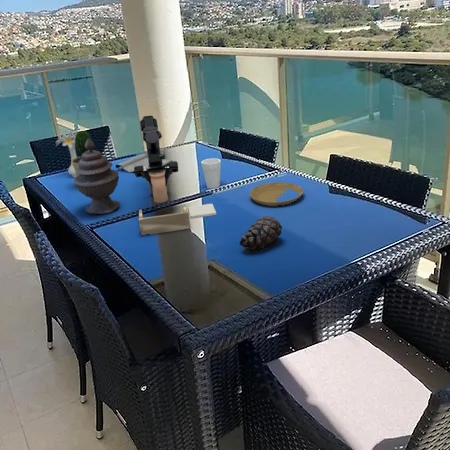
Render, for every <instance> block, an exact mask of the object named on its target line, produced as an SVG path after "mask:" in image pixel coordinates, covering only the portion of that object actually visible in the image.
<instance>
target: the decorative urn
mask: <svg viewBox="0 0 450 450" xmlns="http://www.w3.org/2000/svg"><path fill="white" fill-rule="evenodd" d="M85 148H86V149H88V151H86V152H85V153H83V154H82V156H81V158H82V159H81V160H80V161H79V163H78V164H79V167H77V168H76V169H75V172H76V173H79V175H78V176H77V177H74V179H73V183H74V187H76V189H77V190H78V192H79V193H81V194H82V195H83V196H85V197H87V198H90V199H91V203H90V204H89V205H87V206H86V208H85V211H86V213H89V214H91V215H96V214H97V215H106V214H110V213H113V212H115V211H116V210H117V209H118V208H119V207H120V203H121V202H120V201H119V200H116V199H115V200H114V199H112V198H111V195H112V194H113V193H114V192H115V190H116V188H117V187H118V182H119V178H120V176H119V171H118V170H115V169H112V168H113V165H114V163H113V162H111V161H108V158H107V156H105V155H103V154H102V153H101V152H100V151H99V150H94V148H95V142H94V141H93V140H92V139H91V140H90V139H89V138H88V140H87V141H86V143H85Z"/></svg>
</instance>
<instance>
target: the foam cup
mask: <svg viewBox="0 0 450 450" xmlns="http://www.w3.org/2000/svg"><path fill="white" fill-rule="evenodd" d="M200 163H201V165H200V166H201V168H202V171H203V176H204V179H205V180H204V181H205V184H206V188H207V189H218V188H219V187H221V186H220V185H221V166H222V160H221V159H219V158H213V157H212V158H206V159H203V160H202V161H201V162H200Z"/></svg>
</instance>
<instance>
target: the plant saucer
mask: <svg viewBox="0 0 450 450" xmlns="http://www.w3.org/2000/svg"><path fill="white" fill-rule="evenodd" d="M284 189H285V192H284ZM287 189H291V190H294V191H296V192H298V193H299V196H298V197H296V198H294V199H291V200H287V201H281V202H279V201H278V202H277V201H276V200H277V199H275V198H279V197H280V196H281V195H282V194H283V192H284V193H286V190H287ZM280 193H281V195H280ZM303 193H304V189H303V188H302V187H301V186H300V185H297V184H294V183H290V182H282V181H281V182H280V181H278V182H276V181H275V182H267V183H264V184H260V185H256V186H254V187H253V188H252V189H251V190H250V191H249V196H250V198H251V199H252V201H254V202H255V203H257V204H260V205H262V206H266V205H267V206H268V207H279V206H278V205H282V206H286V205H285V204H287V205H290V204H292V203H291V202H293V203H295V202H296V201H297V199H298V200H299V199H300V198H301V196H302V195H303ZM276 195H277V196H276ZM279 195H280V196H279ZM278 196H279V197H278ZM283 196H284V195H283ZM281 198H282V196H281ZM278 200H279V199H278ZM294 201H295V202H294ZM289 203H290V204H289Z"/></svg>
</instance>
